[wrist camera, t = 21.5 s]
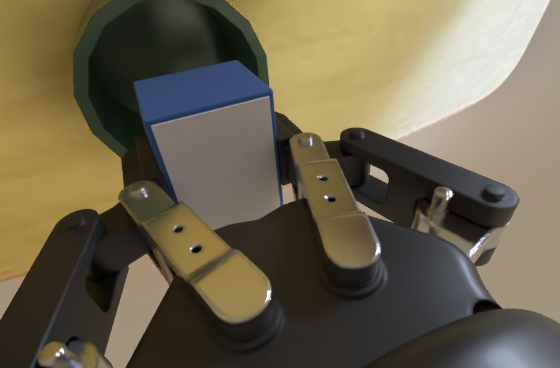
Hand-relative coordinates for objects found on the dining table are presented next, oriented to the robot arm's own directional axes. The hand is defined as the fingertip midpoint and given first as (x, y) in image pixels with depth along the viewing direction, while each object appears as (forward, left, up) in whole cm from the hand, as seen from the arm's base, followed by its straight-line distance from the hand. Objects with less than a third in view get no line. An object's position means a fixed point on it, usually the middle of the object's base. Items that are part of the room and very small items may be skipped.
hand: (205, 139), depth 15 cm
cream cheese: (0, 0, 0) cm, 0 cm away
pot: (0, 0, -15) cm, 15 cm away
